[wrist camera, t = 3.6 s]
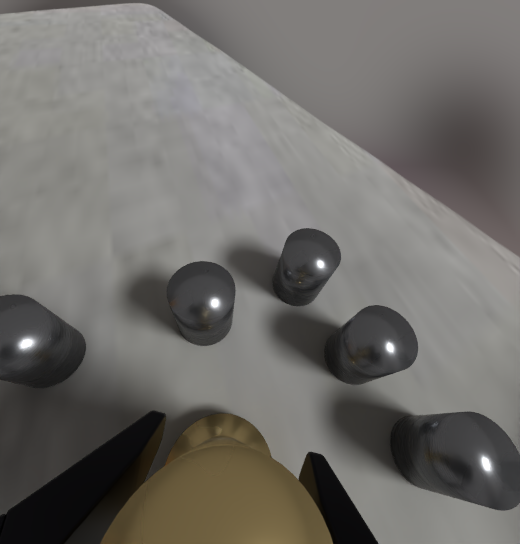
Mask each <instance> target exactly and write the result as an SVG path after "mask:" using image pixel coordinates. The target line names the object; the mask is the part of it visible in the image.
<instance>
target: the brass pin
mask: <svg viewBox="0 0 520 544" xmlns="http://www.w3.org/2000/svg"><path fill="white" fill-rule="evenodd" d="M100 544H333V542H332V538H331V535H330V533H329V530H328V528H327V526H326V523H325V521H324V519H323V516H322V515H321V513H320V511H319V509H318V507H317V505H316V504H315V502H314V500H313V499H312V497H311V496H310V494H309V493H308V492H307V490H306V489H305V487H304V486H303V485H302V484H301V483H300V481H299V480H298V479H297V478H296V477H295V476H294V475H293V474H292V473H291V472H290V471H289V470H288V469H286V468H285V467H284V466H283V465H282V464H280V463H279V462H277V461H276V460H274V459H273V458H272V457H271V453H270V450H269V448H268V445H267V443H266V441H265V439H264V438H263V436H262V435H261V433H260V432H259V431H258V430H257V429H256V428H255V426H253V425H252V424H251V423H250V422H248V421H247V420H245V419H243V418H241V417H239V416H236V415H232V414H214V415H210V416H207V417H204V418H202V419H200V420H198V421H197V422H195V423H194V424H192V425H191V426H190V427H188V428H187V429H186V430H185V431H184V432H183V433H182V434H181V436H180V437H179V438H178V440H177V441H176V442H175V444H174V446H173V447H172V449H171V451H170V453H169V456H168V458H167V461H166V464H165V466H164V467H163V468H161V469H160V470H158V471H157V472H156V473H155V474H154V475H152V476H151V477H150V478H149V479H148V480H147V481H146V482H144V483H143V484H142V485H141V487H140V488H139V489H138V490H137V491H136V492H135V493H134V494H133V495H132V496H131V497H130V499H129V500H128V501H127V502H126V504H125V505H124V506H123V508H122V509H121V510H120V512H119V513H118V514H117V516H116V517H115V519H114V521H113V522H112V524H111V525H110V527H109V529H108V530H107V532H106V533H105V535H104V537H103V539H102V541H101V543H100Z"/></svg>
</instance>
